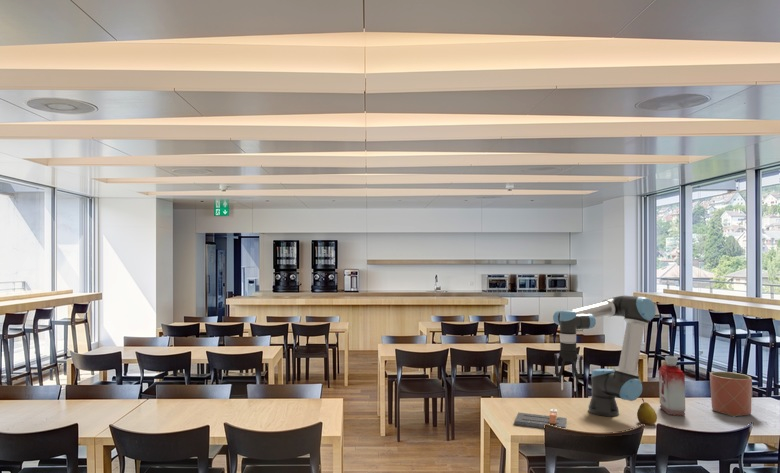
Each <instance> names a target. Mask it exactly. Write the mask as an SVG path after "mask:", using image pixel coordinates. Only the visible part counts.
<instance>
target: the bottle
mask: <svg viewBox="0 0 780 473" xmlns="http://www.w3.org/2000/svg"><path fill="white" fill-rule="evenodd" d="M664 360H665V364H663V365H661V366H660V367H659V368H658V373H659V374H658V378H659V380H658V381H659V382H658V384H659V407H660V408H661V409H662V410H663V411H665V413H667V414H668V415H669V416H674V417H675V416H678V417H684V416H685V415H686V413H685V412H686V382H685V381H686V380H685V379H686V377H685V375H686V374H685V373H684V371H683V370H681V369H680V368H679V367H678V366H676V365H677V363H678V357H677V356H674V355H666V356H664Z"/></svg>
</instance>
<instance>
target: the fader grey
mask: <svg viewBox="0 0 780 473" xmlns="http://www.w3.org/2000/svg"><path fill="white" fill-rule="evenodd" d="M549 411H550V412H549V414H550V413H556V420H557V417H558V409H556V408H550V410H549Z"/></svg>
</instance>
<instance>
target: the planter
mask: <svg viewBox="0 0 780 473" xmlns="http://www.w3.org/2000/svg"><path fill="white" fill-rule="evenodd" d="M752 379H753V378H752V377H751V376H749V375H747V374H744V373H739V372H738V373H737V372H731V371H712V372H709V382H710V383H709V384H710V398H711V399H710V400H711V401H710V402H711V409H712V411H715V412H717V413H721V414H725V415H728V416H730V417H733V416H736V417H737V416H750V415H749V414H751V415H752V391H753V390H752V389H753V388H752V387H753V384H752V382H753V380H752Z"/></svg>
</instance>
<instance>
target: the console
mask: <svg viewBox="0 0 780 473" xmlns="http://www.w3.org/2000/svg"><path fill="white" fill-rule="evenodd" d="M567 420H568V419H567V417H563V416H562V417H561V416H557V420H556V424H553V423H549V415H546V414H544V415H543V414H537V413H536V414H534V413H526V412H518V413H517V415H516V417H515V419H514V426H518V427H519V426H520V427H521V426H522V427H527V428H528V427H530V428H538V429H544V425H545V424H550V425H553V426H557V427H561V428H566V429H567V422H568V421H567Z"/></svg>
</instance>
